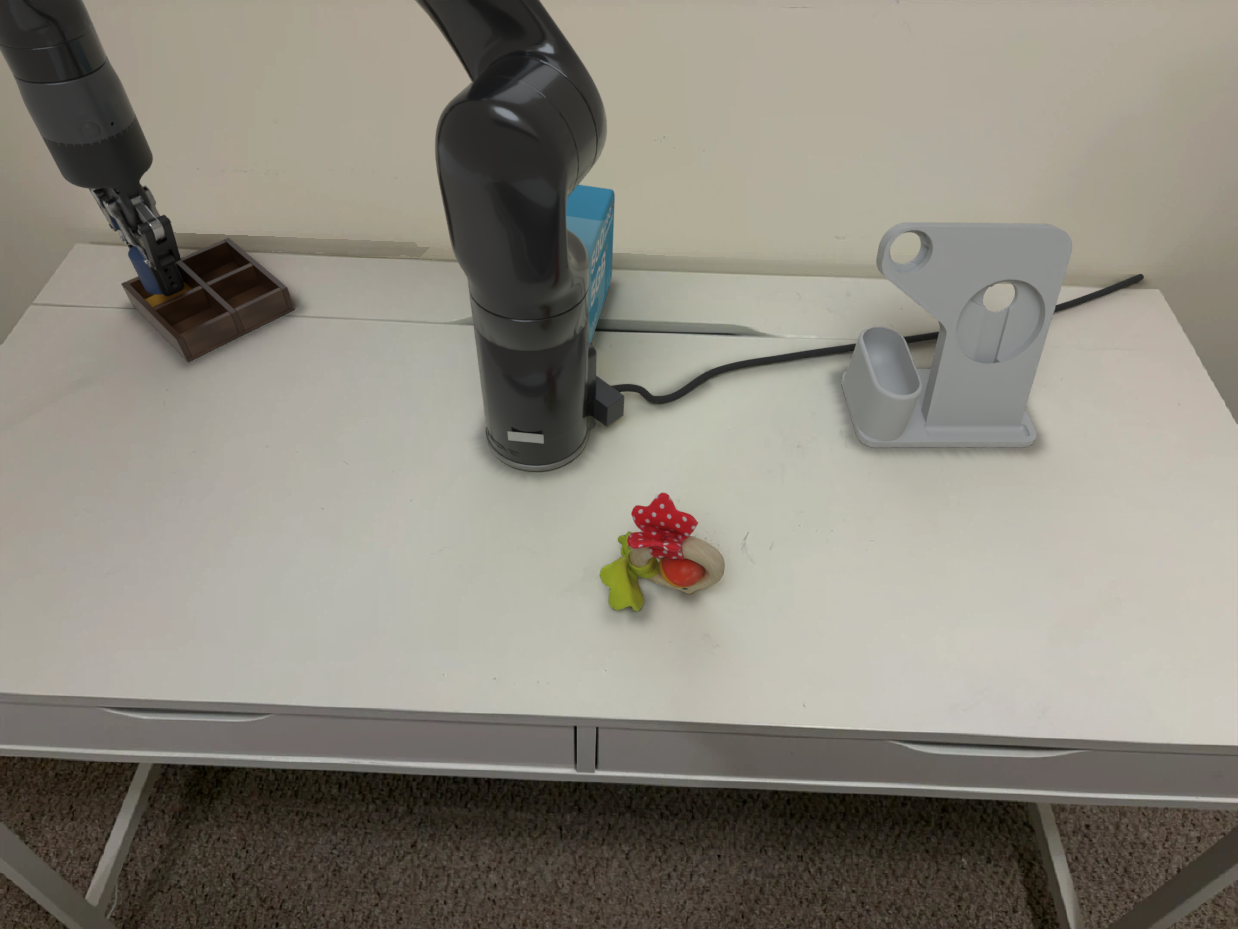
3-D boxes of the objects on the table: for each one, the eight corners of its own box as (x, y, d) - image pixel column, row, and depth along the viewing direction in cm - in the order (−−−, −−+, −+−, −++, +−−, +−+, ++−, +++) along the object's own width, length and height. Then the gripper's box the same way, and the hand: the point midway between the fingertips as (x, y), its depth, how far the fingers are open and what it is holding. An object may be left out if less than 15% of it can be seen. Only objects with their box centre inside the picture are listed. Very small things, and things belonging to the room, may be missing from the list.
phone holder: (856, 447, 77) (916, 291, 63) (834, 372, 83) (884, 215, 69) (1038, 447, 77) (1136, 293, 64) (1002, 372, 84) (1084, 218, 70)
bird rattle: (686, 569, 70) (589, 535, 67) (759, 501, 62) (652, 460, 59) (683, 635, 66) (580, 602, 63) (760, 572, 58) (646, 531, 55)
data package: (588, 352, 84) (589, 252, 74) (545, 345, 84) (541, 245, 75) (611, 280, 91) (615, 182, 82) (572, 274, 92) (571, 176, 83)
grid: (237, 259, 91) (228, 237, 89) (294, 309, 86) (287, 287, 84) (132, 305, 86) (120, 283, 83) (187, 362, 81) (176, 339, 78)
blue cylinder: (172, 268, 85) (157, 235, 82) (189, 284, 83) (174, 250, 80) (138, 283, 83) (121, 249, 80) (154, 299, 82) (138, 266, 79)
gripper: (167, 134, 69) (234, 298, 82) (93, 75, 75) (166, 237, 88) (76, 166, 65) (161, 332, 78) (7, 102, 71) (96, 266, 85)
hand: (163, 281), depth 83 cm, fingers closed on blue cylinder, 3 cm apart
